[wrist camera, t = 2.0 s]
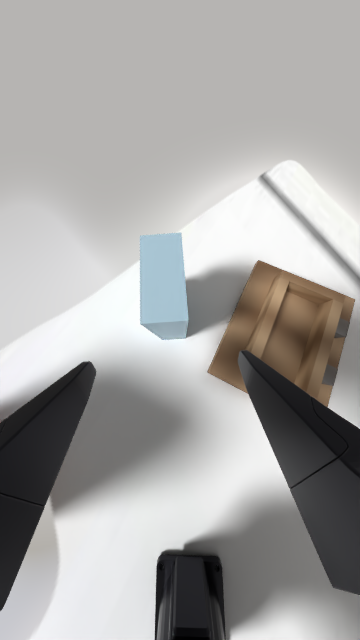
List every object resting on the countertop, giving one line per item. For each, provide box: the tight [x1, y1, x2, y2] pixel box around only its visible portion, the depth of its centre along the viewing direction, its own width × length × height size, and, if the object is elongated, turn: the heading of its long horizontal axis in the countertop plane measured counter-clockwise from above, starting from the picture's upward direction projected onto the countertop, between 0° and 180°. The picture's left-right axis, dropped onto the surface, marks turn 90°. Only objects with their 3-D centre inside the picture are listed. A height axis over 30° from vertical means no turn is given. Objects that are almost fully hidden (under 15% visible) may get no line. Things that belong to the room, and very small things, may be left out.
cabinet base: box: [208, 260, 355, 407], centre depth 19 cm, size 18×14×3 cm
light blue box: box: [140, 233, 189, 340], centre depth 16 cm, size 8×3×11 cm, turn 4°
